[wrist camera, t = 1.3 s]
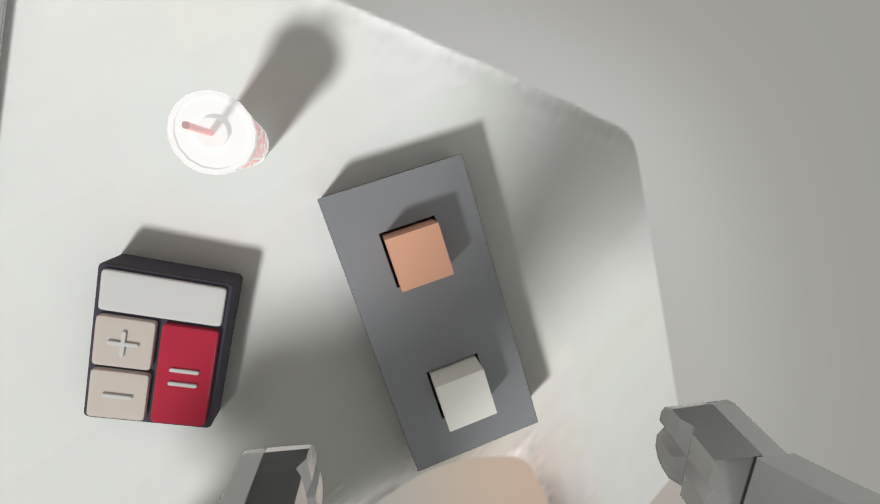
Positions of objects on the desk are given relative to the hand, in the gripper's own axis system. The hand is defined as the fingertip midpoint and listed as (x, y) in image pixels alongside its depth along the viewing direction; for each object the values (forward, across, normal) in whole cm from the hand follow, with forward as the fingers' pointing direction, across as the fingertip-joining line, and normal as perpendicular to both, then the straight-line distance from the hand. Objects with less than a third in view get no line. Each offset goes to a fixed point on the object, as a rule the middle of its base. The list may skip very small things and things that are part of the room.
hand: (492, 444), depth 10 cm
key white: (+29, +2, -22) cm, 37 cm away
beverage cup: (+35, -17, +3) cm, 39 cm away
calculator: (+31, -26, -14) cm, 43 cm away
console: (+33, 0, -15) cm, 37 cm away
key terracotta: (+32, -2, -8) cm, 33 cm away
